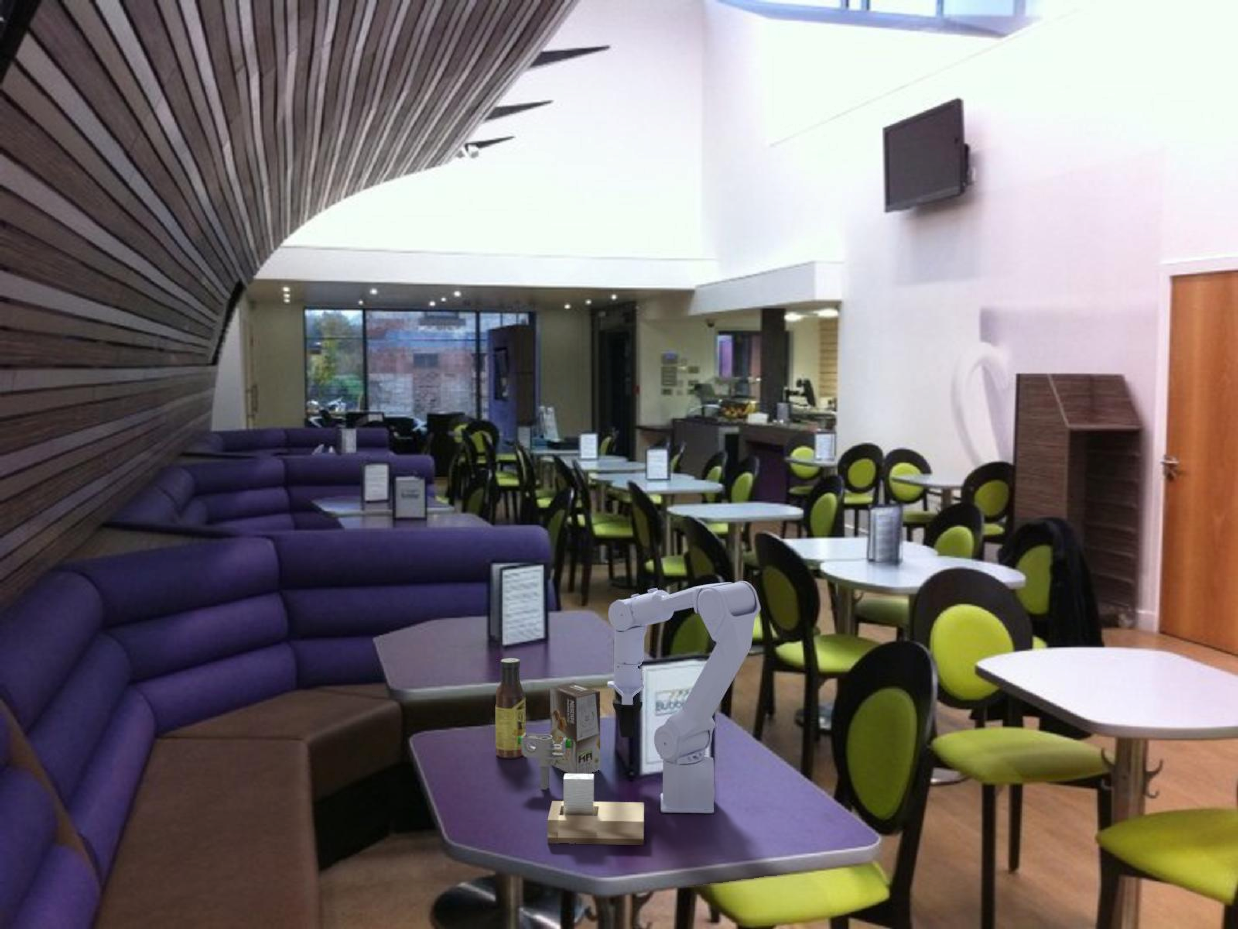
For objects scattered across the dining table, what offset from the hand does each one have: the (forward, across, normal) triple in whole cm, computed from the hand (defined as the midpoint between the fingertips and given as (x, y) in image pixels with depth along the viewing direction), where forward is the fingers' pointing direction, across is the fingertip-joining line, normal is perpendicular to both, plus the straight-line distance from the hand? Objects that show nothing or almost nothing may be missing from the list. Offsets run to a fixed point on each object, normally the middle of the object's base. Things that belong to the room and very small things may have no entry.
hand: (627, 730), depth 198 cm
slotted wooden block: (+10, +24, -4) cm, 26 cm away
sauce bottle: (+11, -14, -24) cm, 31 cm away
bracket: (+9, +24, -8) cm, 26 cm away
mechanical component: (+11, +4, -15) cm, 19 cm away
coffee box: (+11, -7, -10) cm, 17 cm away
